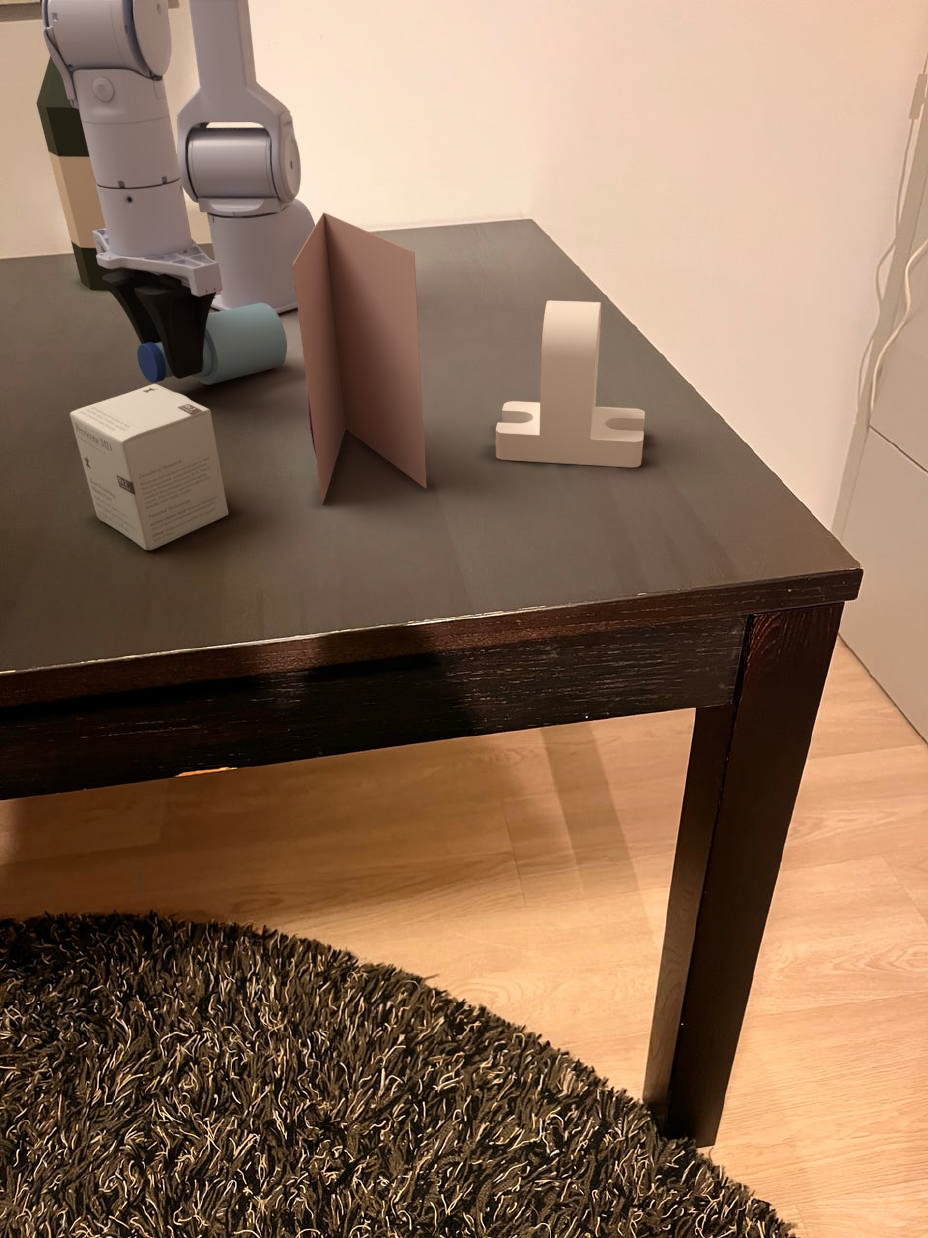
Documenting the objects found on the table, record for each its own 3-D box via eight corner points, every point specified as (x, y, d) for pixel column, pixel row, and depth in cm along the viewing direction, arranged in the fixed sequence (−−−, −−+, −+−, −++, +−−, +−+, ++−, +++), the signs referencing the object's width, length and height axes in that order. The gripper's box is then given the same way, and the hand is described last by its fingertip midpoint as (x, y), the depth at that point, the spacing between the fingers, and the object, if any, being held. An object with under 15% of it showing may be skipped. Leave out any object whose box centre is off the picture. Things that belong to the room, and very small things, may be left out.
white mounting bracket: (505, 426, 71) (505, 287, 65) (642, 433, 70) (655, 292, 64) (494, 459, 67) (493, 314, 61) (640, 467, 65) (654, 320, 59)
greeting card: (333, 427, 72) (310, 212, 63) (434, 426, 71) (425, 210, 62) (308, 504, 62) (276, 264, 54) (424, 504, 62) (411, 262, 53)
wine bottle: (180, 273, 103) (113, -74, 86) (118, 295, 98) (34, -71, 80) (125, 262, 107) (51, -73, 89) (64, 283, 101) (-29, -70, 84)
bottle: (247, 296, 80) (124, 321, 74) (284, 310, 77) (159, 337, 71) (253, 358, 83) (135, 387, 77) (289, 374, 80) (169, 406, 74)
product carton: (95, 520, 61) (64, 411, 57) (178, 485, 65) (154, 379, 61) (149, 554, 58) (120, 440, 54) (232, 515, 61) (212, 405, 57)
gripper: (37, 174, 70) (84, 358, 78) (138, 207, 61) (180, 410, 69) (127, 159, 74) (163, 335, 81) (234, 187, 65) (263, 381, 73)
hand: (176, 368), depth 76 cm, fingers closed on bottle, 3 cm apart
